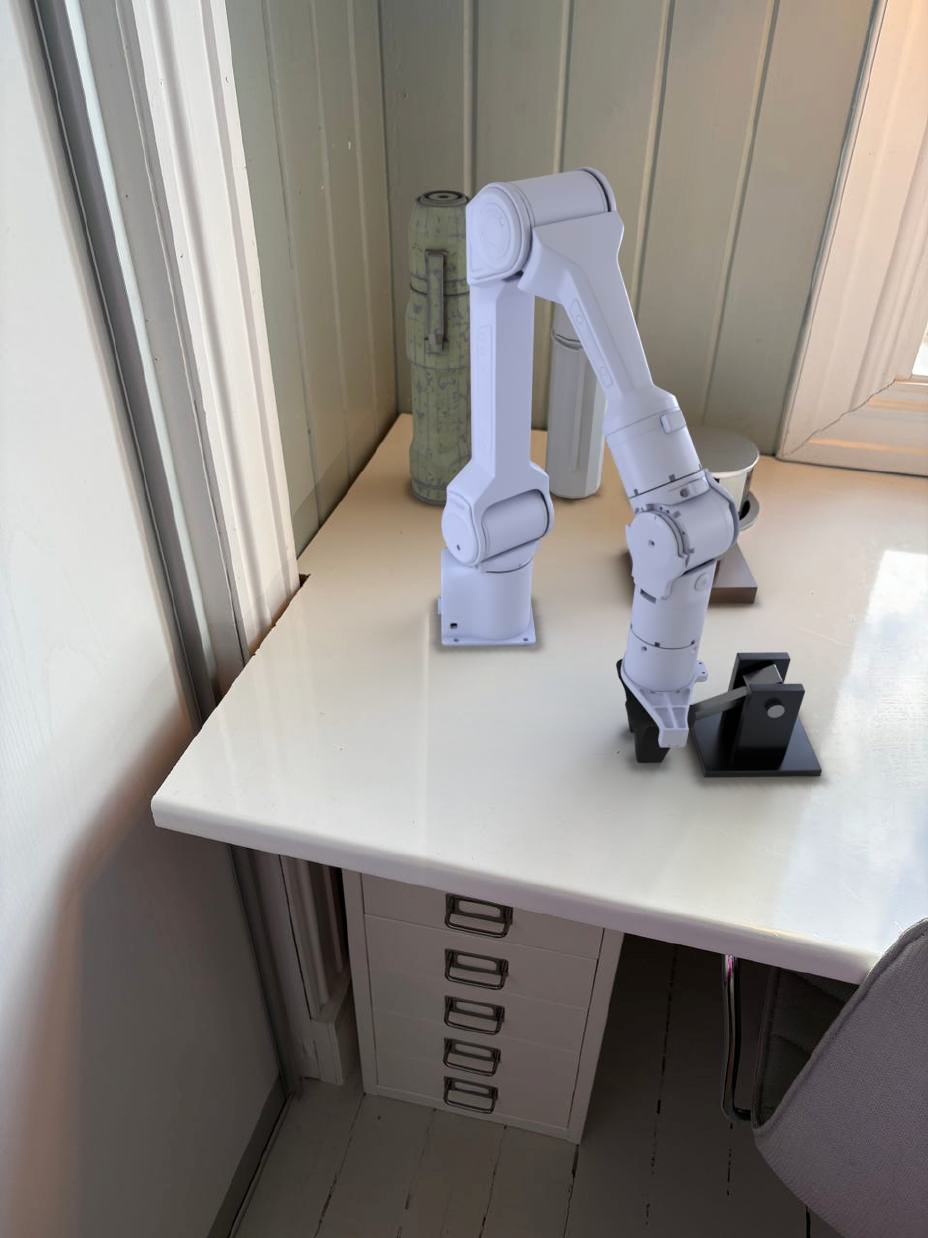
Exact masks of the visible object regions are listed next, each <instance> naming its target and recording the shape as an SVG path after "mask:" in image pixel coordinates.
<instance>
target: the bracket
mask: <svg viewBox="0 0 928 1238" xmlns="http://www.w3.org/2000/svg"><path fill="white" fill-rule="evenodd" d="M791 660H792V659H791V657H790V654H789V653H788V652H786V651H785V652H784V651H781V652H780V651H779V652H777V651H775V652H768V651H767V652H737V653H736V655H735V660H734V663H733V667H732V672H731V676H730V680H729V684H728V688H727V692H729V691H732V690H734V689H737V688H740V687H743V686H747V685H746V683H745V680H744V677H743V675H745V674H748V673H751V672H754V671H757V670H759V669H762V668H765V667H768V666H771V665H773V664H775V665H776V667H777V670H778V672H779V674H780V677H781V679H782V681H783V684H749V687H748V691H747V695H746V698H745V702H744V704H742V705H740V706H737V707H734V708H731V709H728V710H725V711H722V712H720V713H717V714H714V715H711V716H708V717H705V718H702V719H699V720H697V721H695V724H694V726H693V727H691V728H690V729H689V731H690V734H691V736H692V741H693V744H694V746H695V750H696V754H697V757H698V760H699V763H700V767H701V770H702V774H703V777H704V778H707V779H708V778H784V777H785V778H789V777H793V778H794V777H795V778H797V777H821V775H822V772H823V770H822V767H821V765H820V763H819V760H818V758H817V756H816V753H815V750H814V749H813V746H812V744H811V742H810V740H809V737H808V735H807V733H806V731H805V728H804V726H803V724H802V721H801V718H800V716H799V713H800V710H801V707H802V703H803V701H804V697H805V694H806V689H805V687H804V685H803V683H785V681H786V677H787V673H788V670H789V667H790V664H791Z"/></svg>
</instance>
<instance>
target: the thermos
mask: <svg viewBox="0 0 928 1238" xmlns="http://www.w3.org/2000/svg"><path fill="white" fill-rule="evenodd" d="M472 199H473V198H471V197H470V196H468V195H466V194H465V193H463V192H461V191H457V190H450V189H436V190H428V191H425V192H423V193H421V195H418V196H417V197H415V198H414V202H413V206H412V210H411V213H410V217H409V219H408V225H407V238H408V239H407V242H408V243H407V244H408V245H407V246H408V271H409V273H410V276H411V277H410V279H411V280H410V284H409V298H408V300H407V304H406V307H405V312H404V319H405V320H404V321H405V323H404V325H405V351H406V352H405V355H406V358H407V360H408V362H409V364H410V378H411V379H410V382H411V385H410V386H411V413H412V415H411V417H412V418H411V419H412V438H411V442H410V445H409V450H408V457H409V458H408V459H409V474H410V476H411V492H412V494H413V496H414V497H415V498H416V499H418V500H419V501H421V502H423V503H425V504H429V505H432V506H433V505H434V506H438V507H439V506H441V507H442V506H443V507H445V506H446V502H447V486H448V485H449V484H450V482H451V481H452V480H453V479H454V478H455V477H456V476H457V475H458V474H459V472H460V471H461V470H462V469H463V468H464V467H465V466H466V465H467V464H468V463H469V461H470V460H471V458H472V440H471V355H470V285H469V284H468V283H467V259H466V206H467V204H468V203H469V202H470V201H471V200H472Z"/></svg>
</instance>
